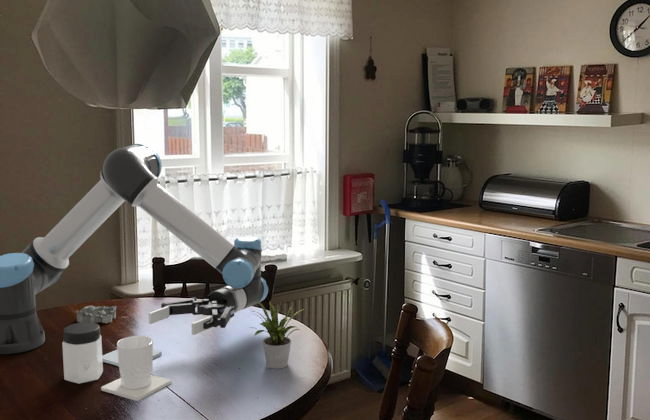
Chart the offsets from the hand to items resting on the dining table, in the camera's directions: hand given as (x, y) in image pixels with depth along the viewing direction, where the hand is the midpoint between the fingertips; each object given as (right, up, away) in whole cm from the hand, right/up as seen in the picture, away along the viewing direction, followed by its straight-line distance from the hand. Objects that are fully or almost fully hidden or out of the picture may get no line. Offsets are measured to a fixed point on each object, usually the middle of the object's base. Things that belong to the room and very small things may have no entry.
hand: (170, 323), depth 168 cm
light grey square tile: (-12, -10, +9) cm, 18 cm away
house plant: (+24, -11, +6) cm, 27 cm away
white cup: (-6, -13, -8) cm, 16 cm away
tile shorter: (-6, -13, -8) cm, 16 cm away
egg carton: (-30, -5, +38) cm, 49 cm away
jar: (-20, -12, -2) cm, 24 cm away
